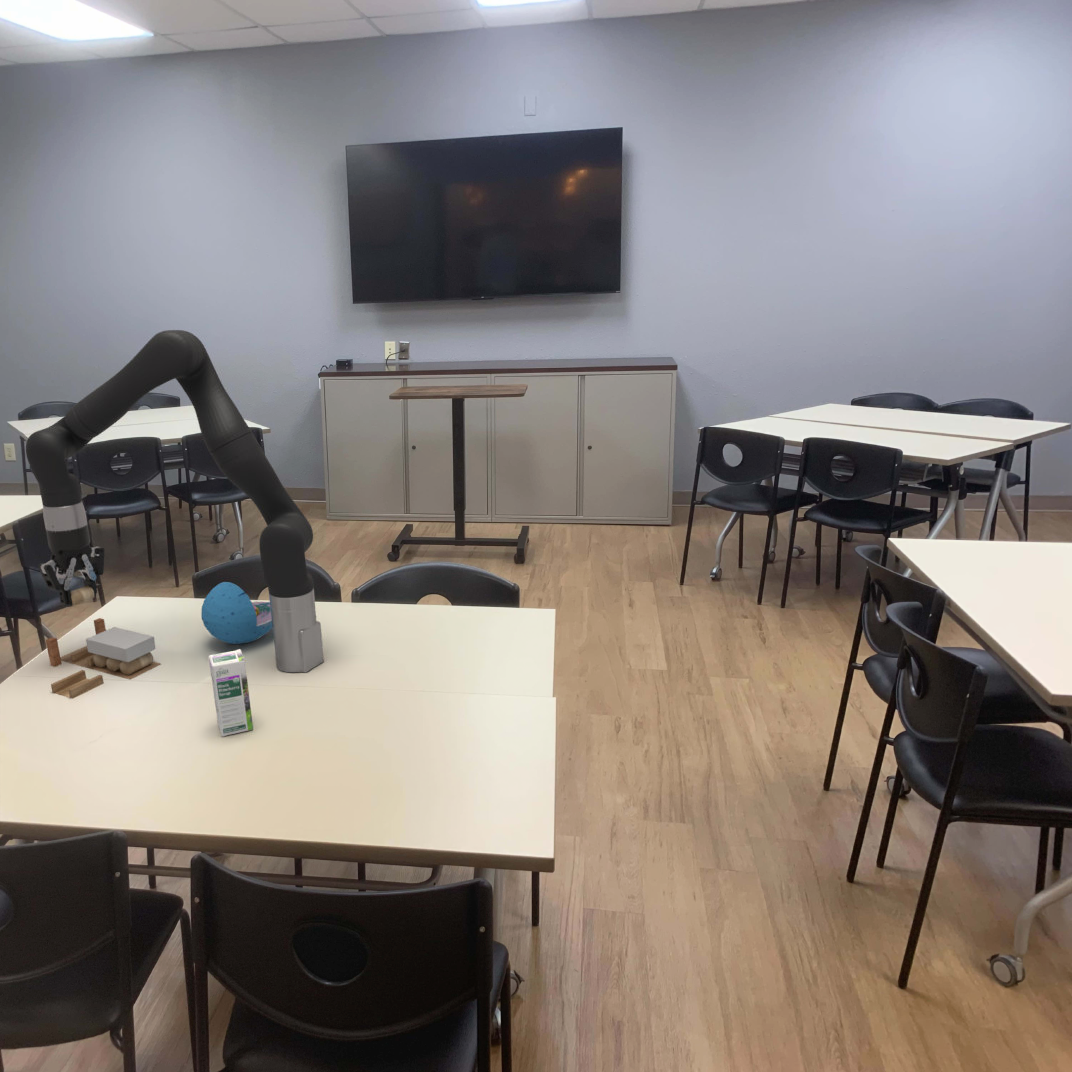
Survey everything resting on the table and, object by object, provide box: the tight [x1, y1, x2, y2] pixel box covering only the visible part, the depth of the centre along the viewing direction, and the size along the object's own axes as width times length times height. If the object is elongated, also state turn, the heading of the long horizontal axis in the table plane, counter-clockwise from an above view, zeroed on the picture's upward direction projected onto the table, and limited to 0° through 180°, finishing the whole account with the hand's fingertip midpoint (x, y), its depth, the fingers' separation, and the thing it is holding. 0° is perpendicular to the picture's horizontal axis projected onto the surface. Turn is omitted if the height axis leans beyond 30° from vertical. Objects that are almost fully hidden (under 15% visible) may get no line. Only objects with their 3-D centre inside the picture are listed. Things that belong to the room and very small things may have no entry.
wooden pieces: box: [45, 617, 162, 699], centre depth 172 cm, size 23×21×7 cm
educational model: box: [201, 581, 273, 645], centre depth 187 cm, size 16×19×15 cm
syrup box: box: [208, 648, 254, 738], centre depth 150 cm, size 6×6×14 cm
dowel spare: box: [69, 585, 95, 608], centre depth 170 cm, size 3×5×3 cm, turn 157°
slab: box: [85, 626, 156, 662], centre depth 172 cm, size 12×7×3 cm, turn 65°
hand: (79, 600), depth 171 cm, fingers closed on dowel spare, 5 cm apart
